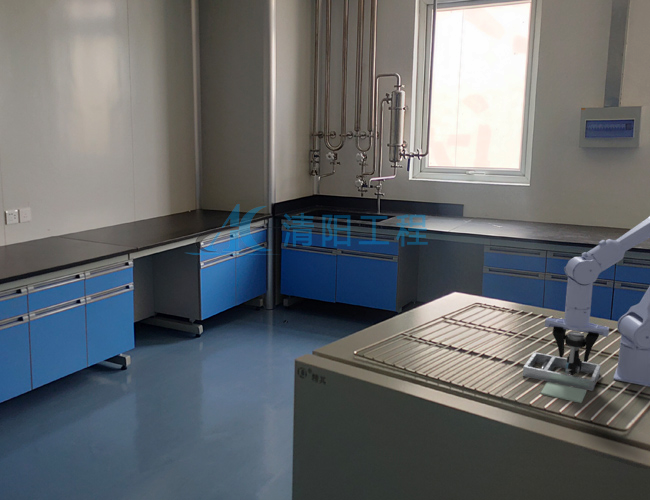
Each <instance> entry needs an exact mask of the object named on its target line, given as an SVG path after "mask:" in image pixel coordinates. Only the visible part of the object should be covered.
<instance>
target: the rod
mask: <svg viewBox="0 0 650 500" xmlns="http://www.w3.org/2000/svg"><path fill="white" fill-rule="evenodd" d="M548 363H549V362H548V361H545V362H544V363H543V364H542V365H541V366H540V368H539V369H543V370H544V369H545V367H546V366H547V364H548Z"/></svg>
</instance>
